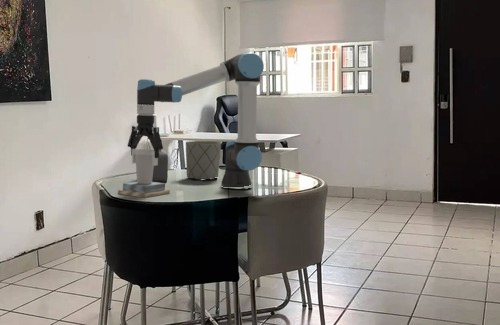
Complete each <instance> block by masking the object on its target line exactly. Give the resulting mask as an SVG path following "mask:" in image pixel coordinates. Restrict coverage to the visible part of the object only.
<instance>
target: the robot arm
mask: <svg viewBox="0 0 500 325" xmlns="http://www.w3.org/2000/svg"><path fill="white" fill-rule="evenodd" d="M264 66H265V65H264V61H263V59H262V58H261V57H260V56H259V55H258V54H257V53H254V52H244V53H240V54H237V55H235V56H232V58H229V59H227V60H225V61H222V62H220V64H219V65H217V66H215V67H212V68H209V69H205V70H203V71H200V72H197V73H194V74H192V75H189V76H186V77H183V78H180V79H177V80H175V81H172V82H169V83H166V84H156V81H155V80H154V79H148V78H147V79H145V78H144V79H142V78H141V79H139V80H137V88H136V91H137V92H136V96H137V97H136V108H137V109H136V114H137V116H136V124H137V125H132V126H131V133H130V136H129V140H128V142H127V147H128V148H130V156H131V164H136V158H135V154H134V153H135V152H136V149H138V145H139V144H140V142H141V139H142V138H143V137H147V139H148V140H149V142H150V144H151V146H152V150H153V156H152V166H156V165H158V158H159V152H160V151H161V150H163V149H164V146H163V142H162V139H161V136H160V127H158V126H157V127H155V126H154V124H155V116H154V115H155V102H156V103H158V102H159V103H181V102H182V99H183V96H185V95H186V96H187V95H188V94H191V93H194V92H196V91H199V90H202V89H205V88H207V87H208V88H209V87H211V86H214V85H216V84H220V83H222V82H227V83H228V82H231V81H234V83H235V84H236V85H237V88H238V89H237V91H238V93H237V96H238V97H237V103H238V104H237V137H236V139H235V140H229V141H227V142H226V144H225V164H224V166H225V168H224V170H225V171H224V175H223V176H222V180H221V183H220V187H221V186H223V187H244V186H249V185H251V184H252V180H251V176H250V173H249V172H250V171H253V170H255V169H257V168H259V166H260V165H261V163H262V160H263V154H262V152H261V150H260V141H259V140H258V138H257V103H258V102H257V98H258V96H257V95H258V93H257V92H258V89H257V88H258V85H259V84H261V75H262V74H263V72H264V68H265V67H264ZM252 185H253V184H252Z"/></svg>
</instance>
